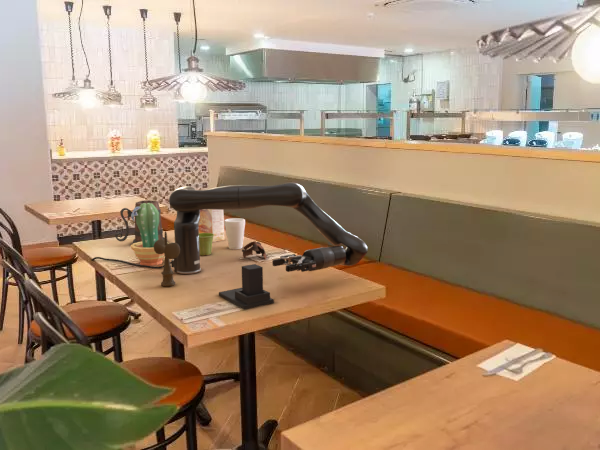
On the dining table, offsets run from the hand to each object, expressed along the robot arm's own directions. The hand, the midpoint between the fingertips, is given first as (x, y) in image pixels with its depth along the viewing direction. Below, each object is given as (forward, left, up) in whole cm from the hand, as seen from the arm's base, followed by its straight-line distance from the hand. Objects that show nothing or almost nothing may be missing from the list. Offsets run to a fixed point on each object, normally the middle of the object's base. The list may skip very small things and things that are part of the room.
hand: (279, 265), depth 193 cm
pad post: (-7, -7, -10) cm, 14 cm away
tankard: (-83, +69, -11) cm, 108 cm away
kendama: (-43, +7, -11) cm, 45 cm away
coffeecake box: (-55, +85, -11) cm, 101 cm away
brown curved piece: (-23, +51, -11) cm, 57 cm away
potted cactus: (-63, +36, -11) cm, 73 cm away
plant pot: (-47, +54, -11) cm, 72 cm away
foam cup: (-37, +68, -11) cm, 78 cm away
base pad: (-11, -4, -11) cm, 16 cm away
